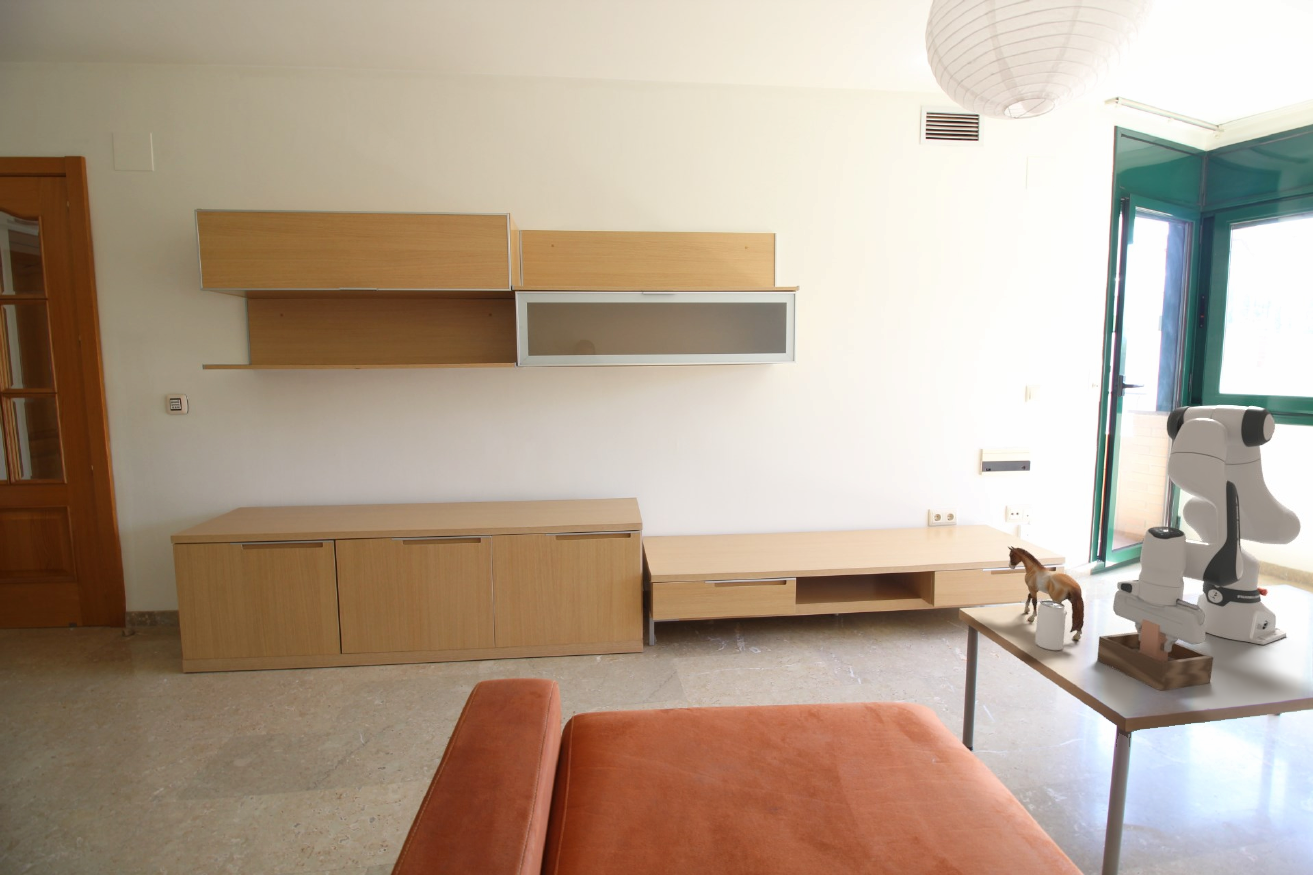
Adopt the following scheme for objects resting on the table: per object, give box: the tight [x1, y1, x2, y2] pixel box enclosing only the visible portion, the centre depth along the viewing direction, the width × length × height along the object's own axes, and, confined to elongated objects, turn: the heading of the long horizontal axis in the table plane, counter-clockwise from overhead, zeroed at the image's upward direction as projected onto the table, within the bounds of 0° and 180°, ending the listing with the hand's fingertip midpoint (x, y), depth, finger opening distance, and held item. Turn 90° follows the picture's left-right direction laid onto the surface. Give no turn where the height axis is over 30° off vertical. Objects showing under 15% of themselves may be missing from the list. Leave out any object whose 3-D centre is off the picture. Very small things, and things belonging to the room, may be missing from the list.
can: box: [1034, 599, 1067, 652], centre depth 172 cm, size 6×6×12 cm
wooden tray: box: [1096, 631, 1214, 691], centre depth 158 cm, size 16×16×6 cm
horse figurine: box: [1007, 546, 1085, 641], centre depth 184 cm, size 31×8×21 cm, turn 5°
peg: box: [1139, 619, 1168, 662], centre depth 158 cm, size 4×4×12 cm
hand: (1154, 646), depth 158 cm, fingers closed on peg, 4 cm apart
